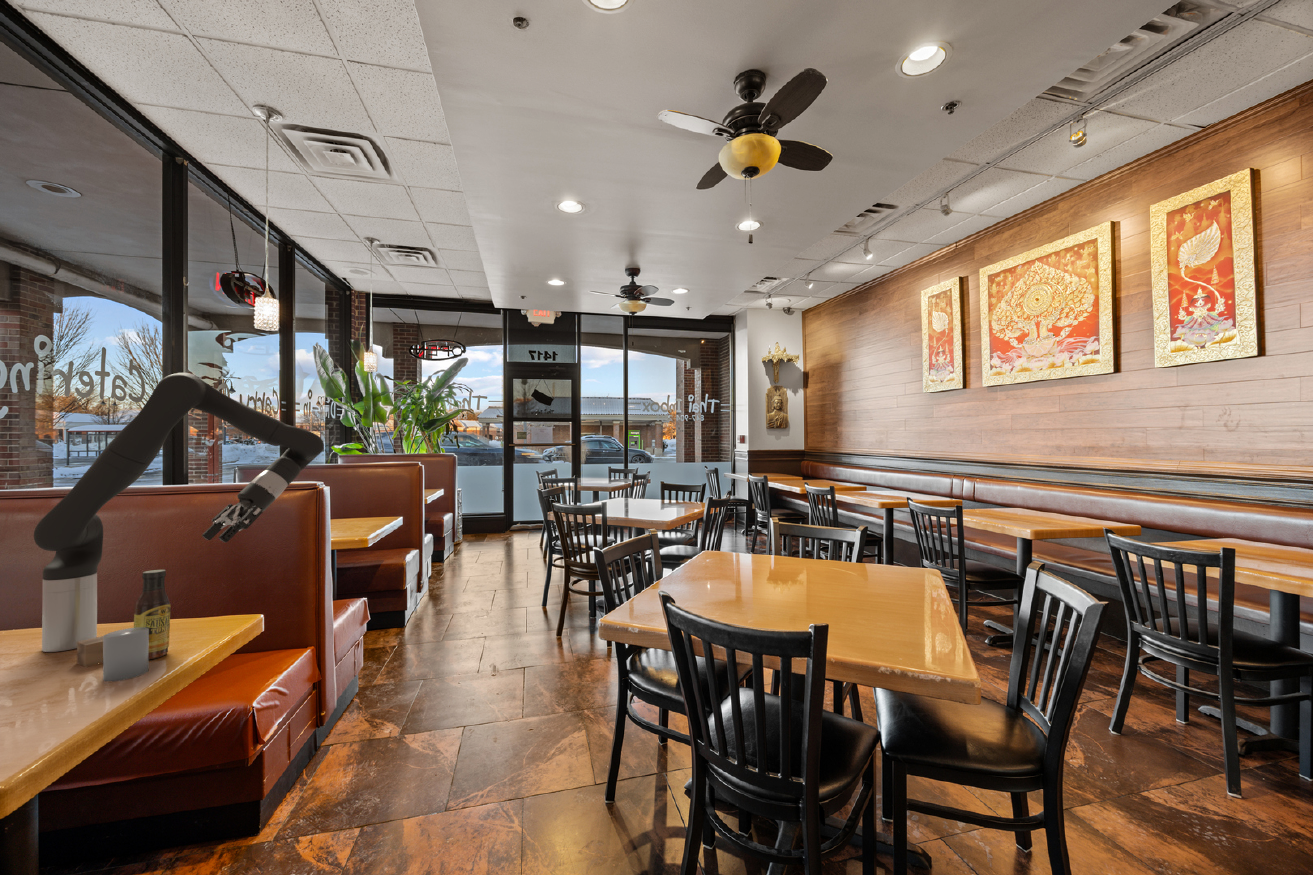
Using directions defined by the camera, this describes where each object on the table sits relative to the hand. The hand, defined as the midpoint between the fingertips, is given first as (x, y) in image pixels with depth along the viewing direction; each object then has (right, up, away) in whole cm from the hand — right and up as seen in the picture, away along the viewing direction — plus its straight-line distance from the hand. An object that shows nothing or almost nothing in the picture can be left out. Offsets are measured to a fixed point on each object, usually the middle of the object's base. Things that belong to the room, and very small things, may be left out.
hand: (213, 539), depth 137 cm
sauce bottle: (-5, -26, -11) cm, 28 cm away
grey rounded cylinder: (-2, -25, -21) cm, 33 cm away
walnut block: (-16, -25, -14) cm, 33 cm away
